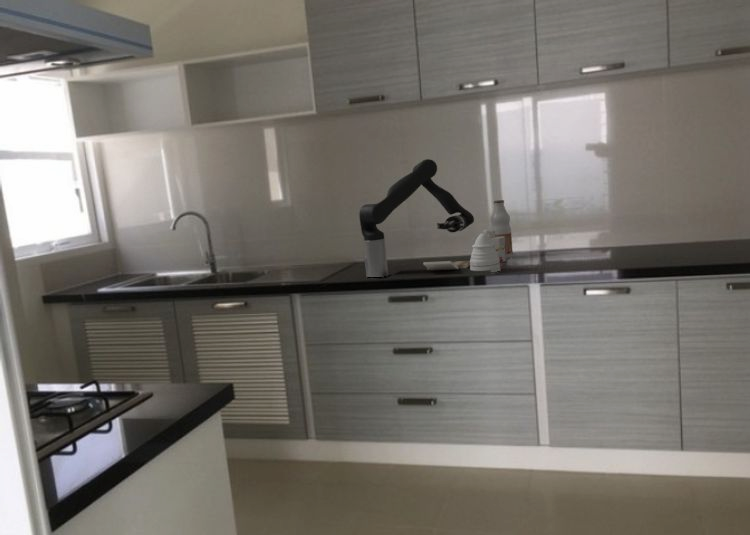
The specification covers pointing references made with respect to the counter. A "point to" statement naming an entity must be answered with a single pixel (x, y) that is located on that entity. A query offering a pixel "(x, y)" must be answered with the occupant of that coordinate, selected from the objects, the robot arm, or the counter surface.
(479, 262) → the honey pot
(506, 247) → the fruit juice
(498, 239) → the ink cartridge box
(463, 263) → the bed
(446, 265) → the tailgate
